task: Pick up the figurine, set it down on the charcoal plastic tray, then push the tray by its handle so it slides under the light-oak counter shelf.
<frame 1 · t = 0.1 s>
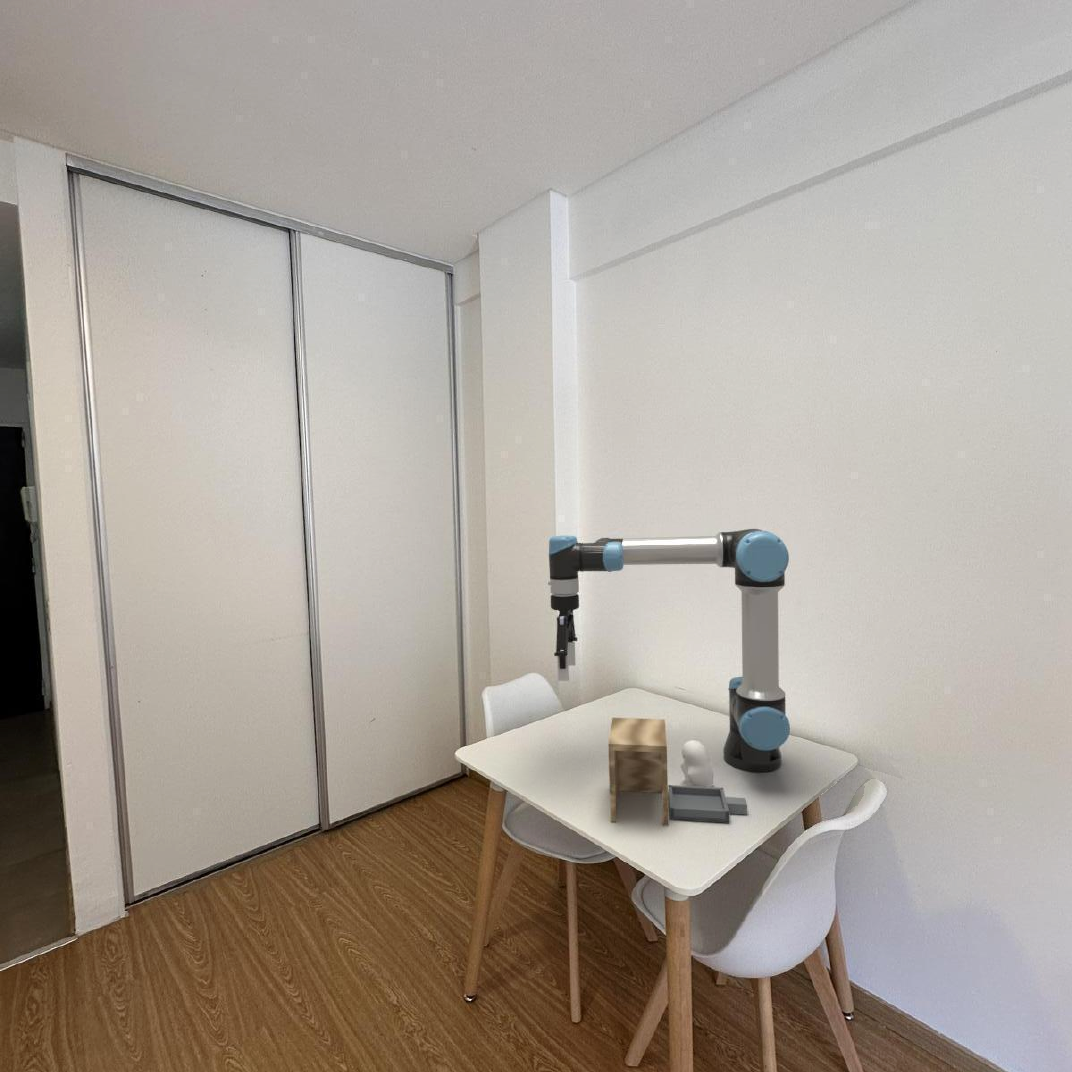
hand: (567, 672, 159), 28 cm above the table, fingers open, 13 cm apart
tray: (707, 803, 140), point 2 cm above the table, slide at 0.0 cm
figurine: (697, 787, 152), on the table
counter: (639, 805, 143), on the table
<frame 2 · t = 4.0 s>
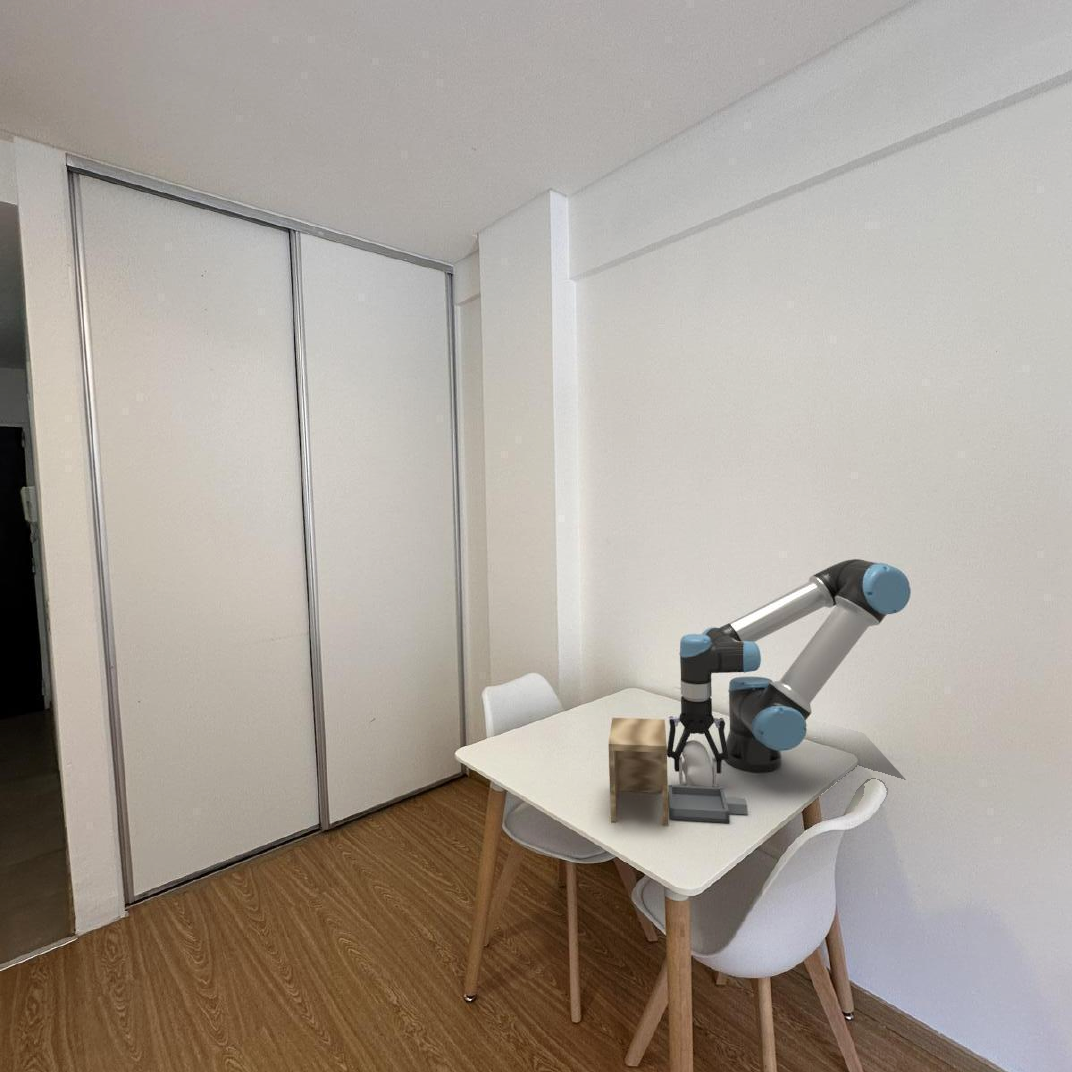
hand: (697, 784, 151), 1 cm above the table, fingers closed on figurine, 8 cm apart
figurine: (698, 787, 151), on the table, touching gripper
everything else where it was.
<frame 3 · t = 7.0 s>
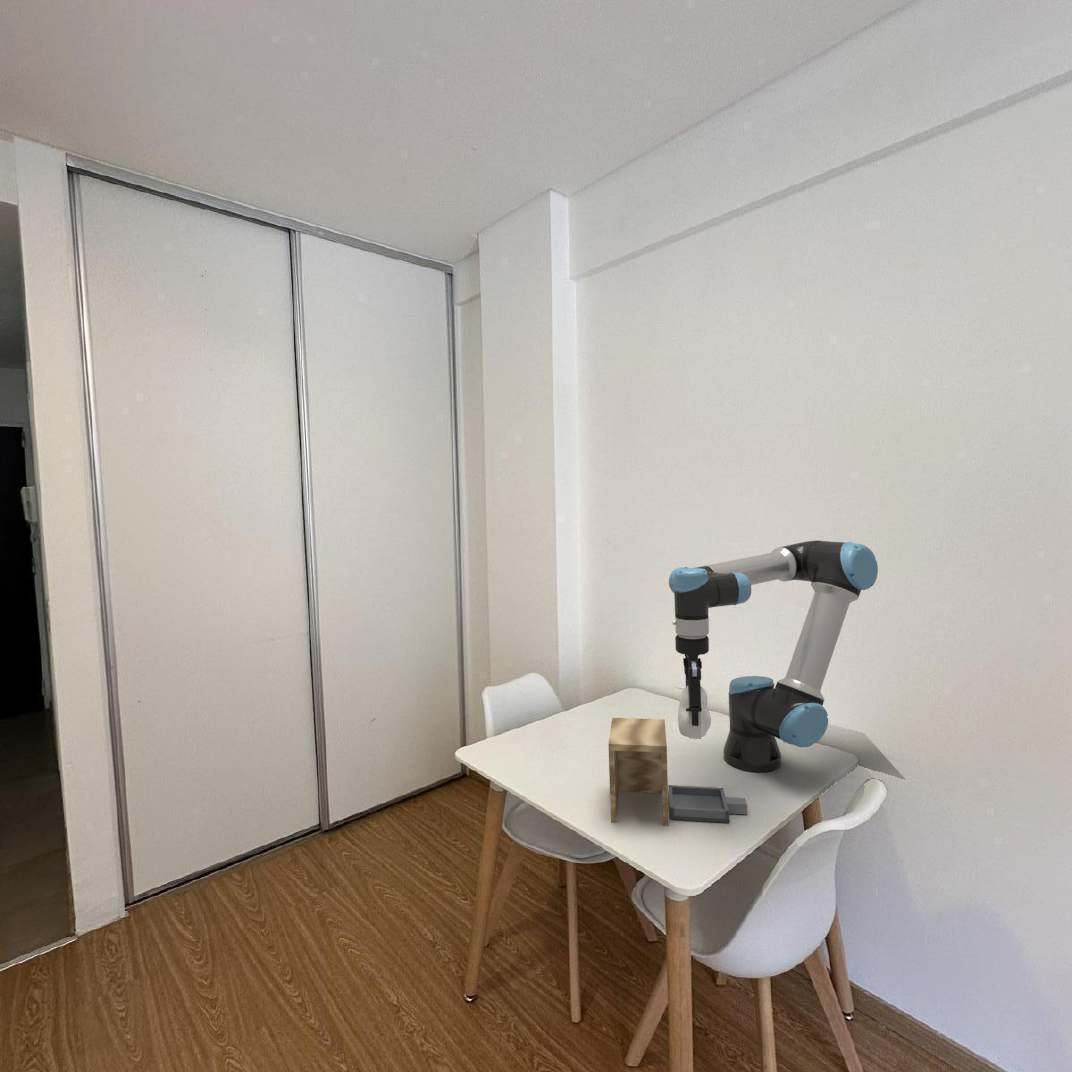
hand: (693, 730, 140), 19 cm above the table, fingers closed on figurine, 8 cm apart
figurine: (693, 734, 140), point 18 cm above the table, touching gripper
everything else where it was.
when the fingers open (4 cm above the table, at t = 10.2 s): figurine drops 2 cm, resting on tray.
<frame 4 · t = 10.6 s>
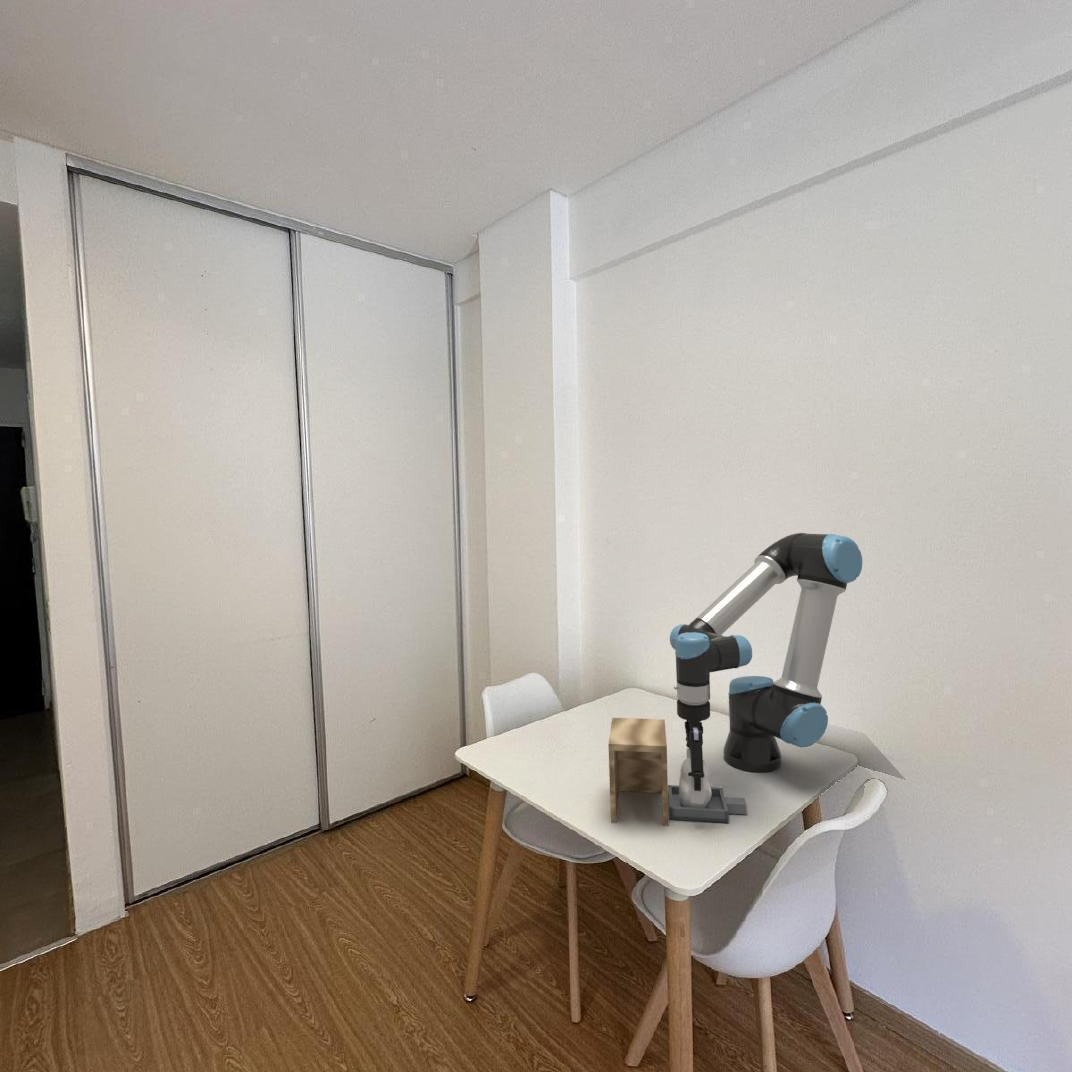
hand: (695, 788, 141), 5 cm above the table, fingers open, 13 cm apart
tray: (706, 803, 140), point 2 cm above the table, slide at 0.1 cm, touching figurine
figurine: (694, 805, 141), point 1 cm above the table, touching tray
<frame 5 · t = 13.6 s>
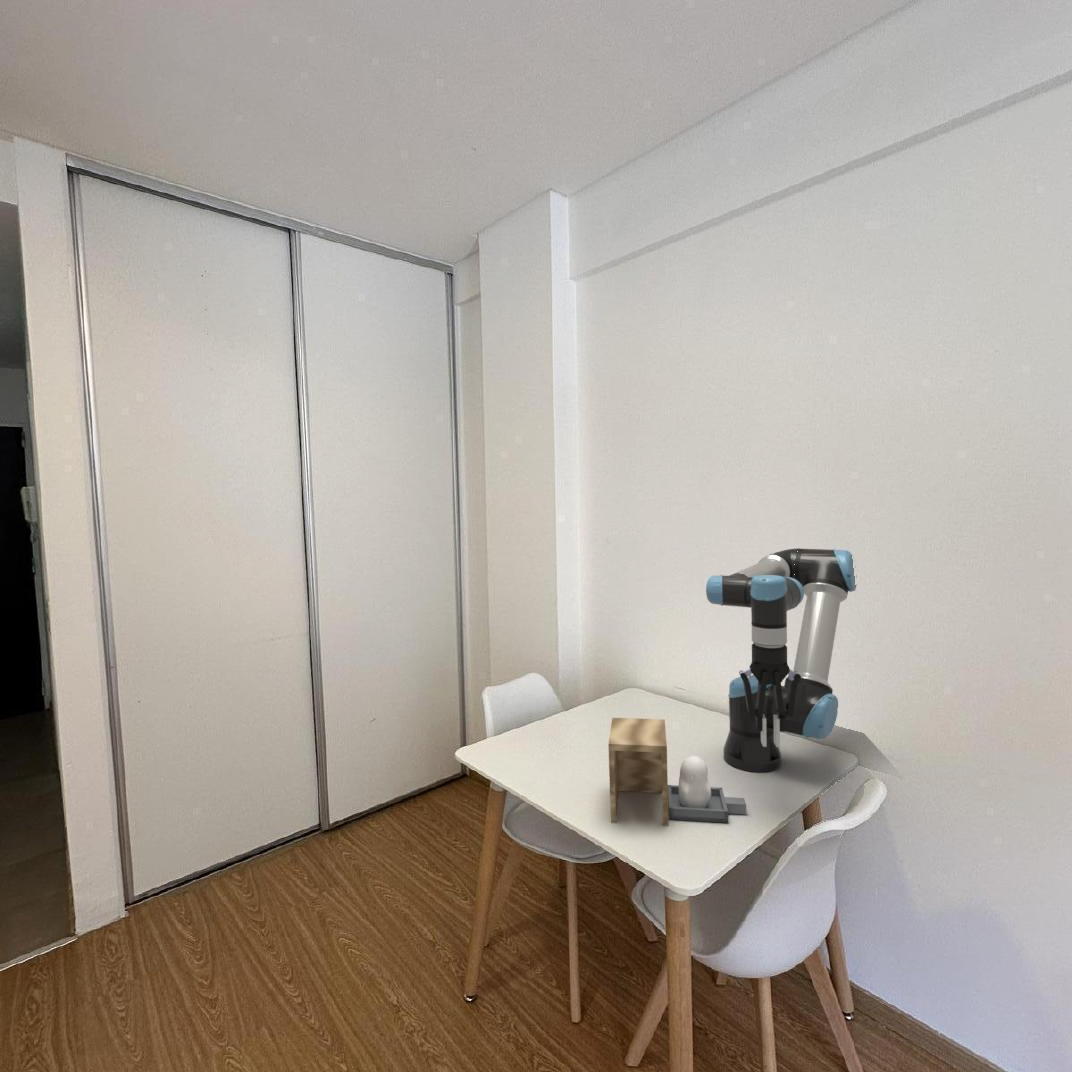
hand: (770, 744, 137), 16 cm above the table, fingers open, 2 cm apart
nothing on the table moved.
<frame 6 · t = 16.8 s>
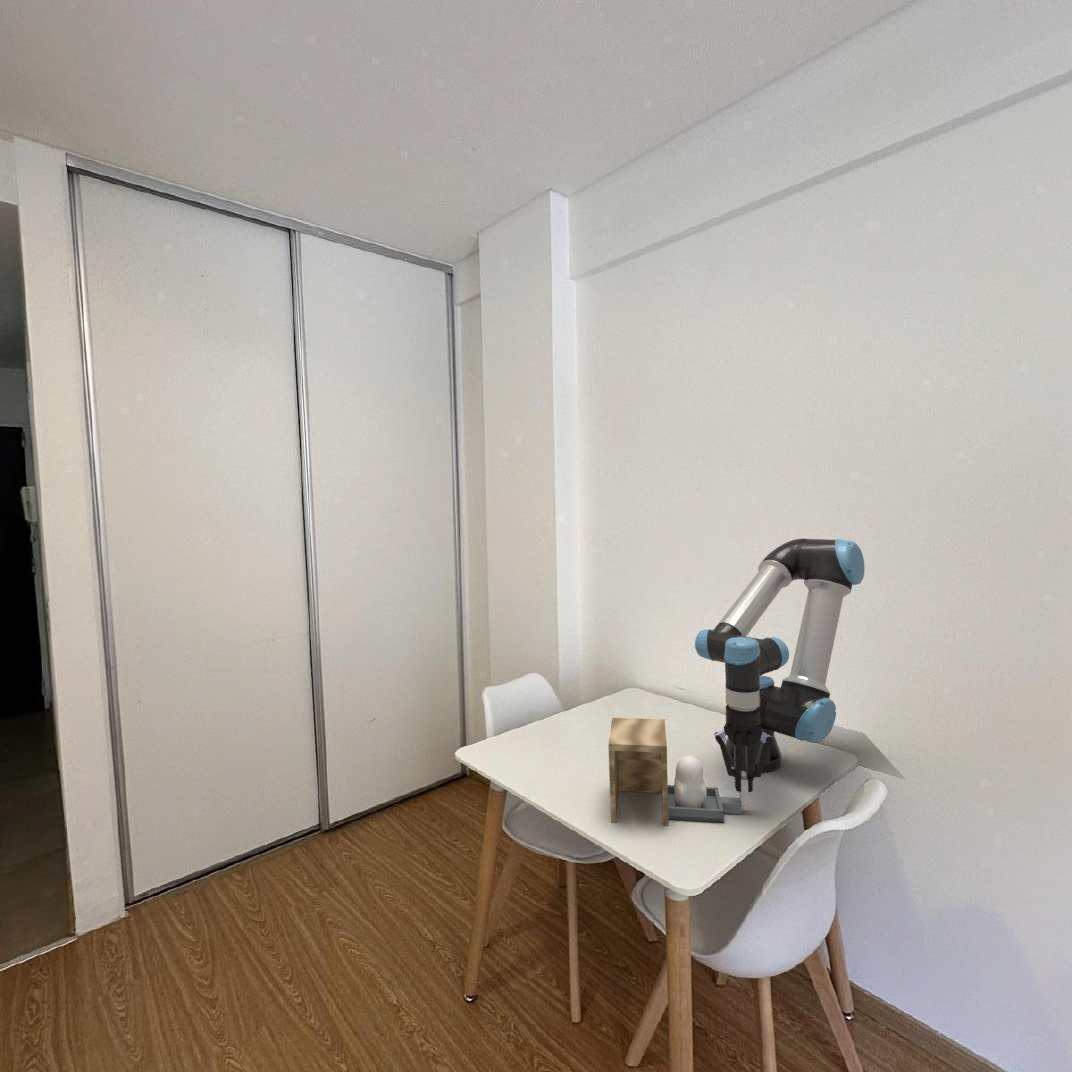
hand: (743, 804, 139), 2 cm above the table, fingers closed
tray: (701, 803, 141), point 2 cm above the table, slide at 1.2 cm, touching figurine, gripper
figurine: (689, 805, 141), point 1 cm above the table, touching tray
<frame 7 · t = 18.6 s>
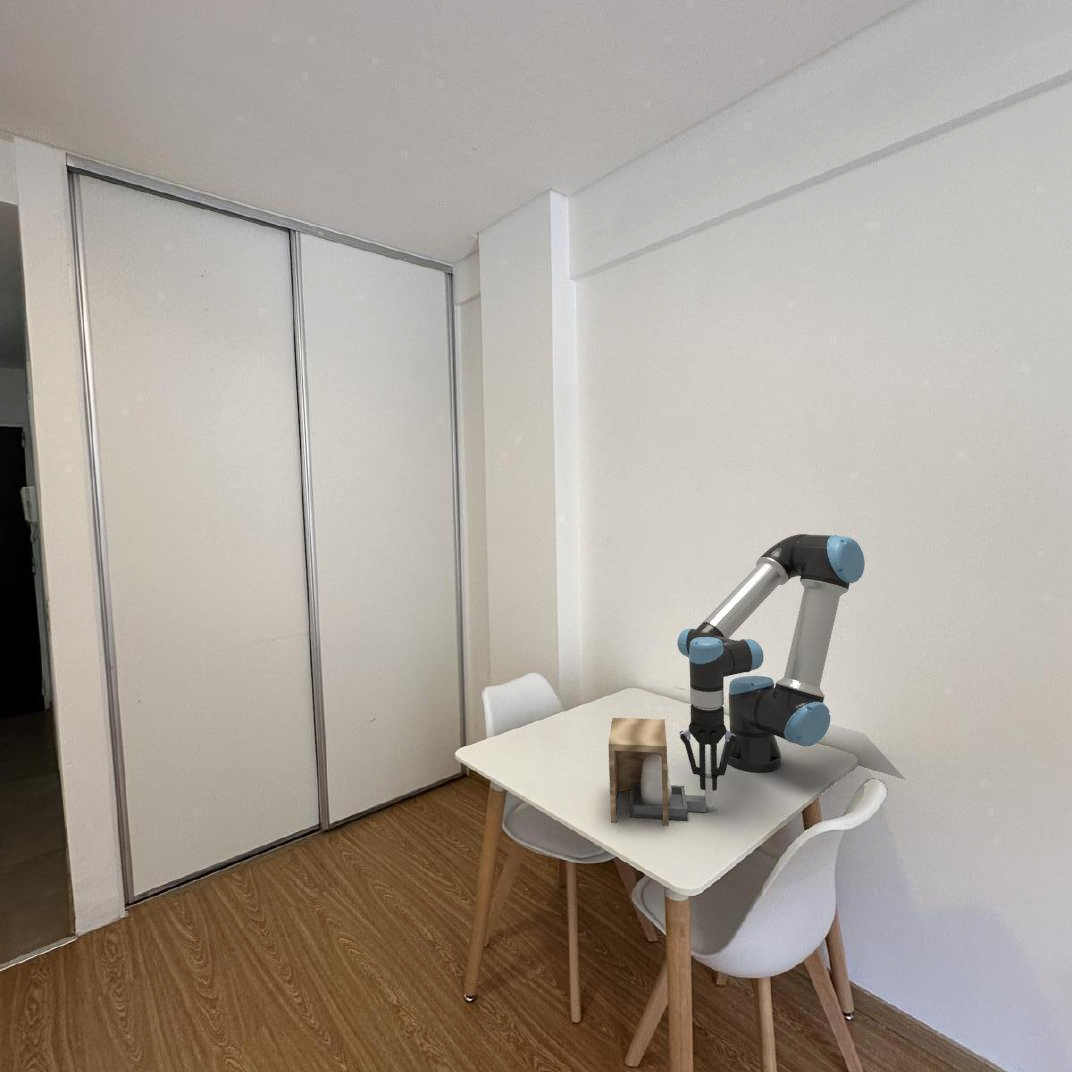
hand: (708, 802, 140), 2 cm above the table, fingers closed
tray: (667, 801, 142), point 2 cm above the table, slide at 9.2 cm, touching figurine, gripper
figurine: (655, 803, 143), point 1 cm above the table, touching tray
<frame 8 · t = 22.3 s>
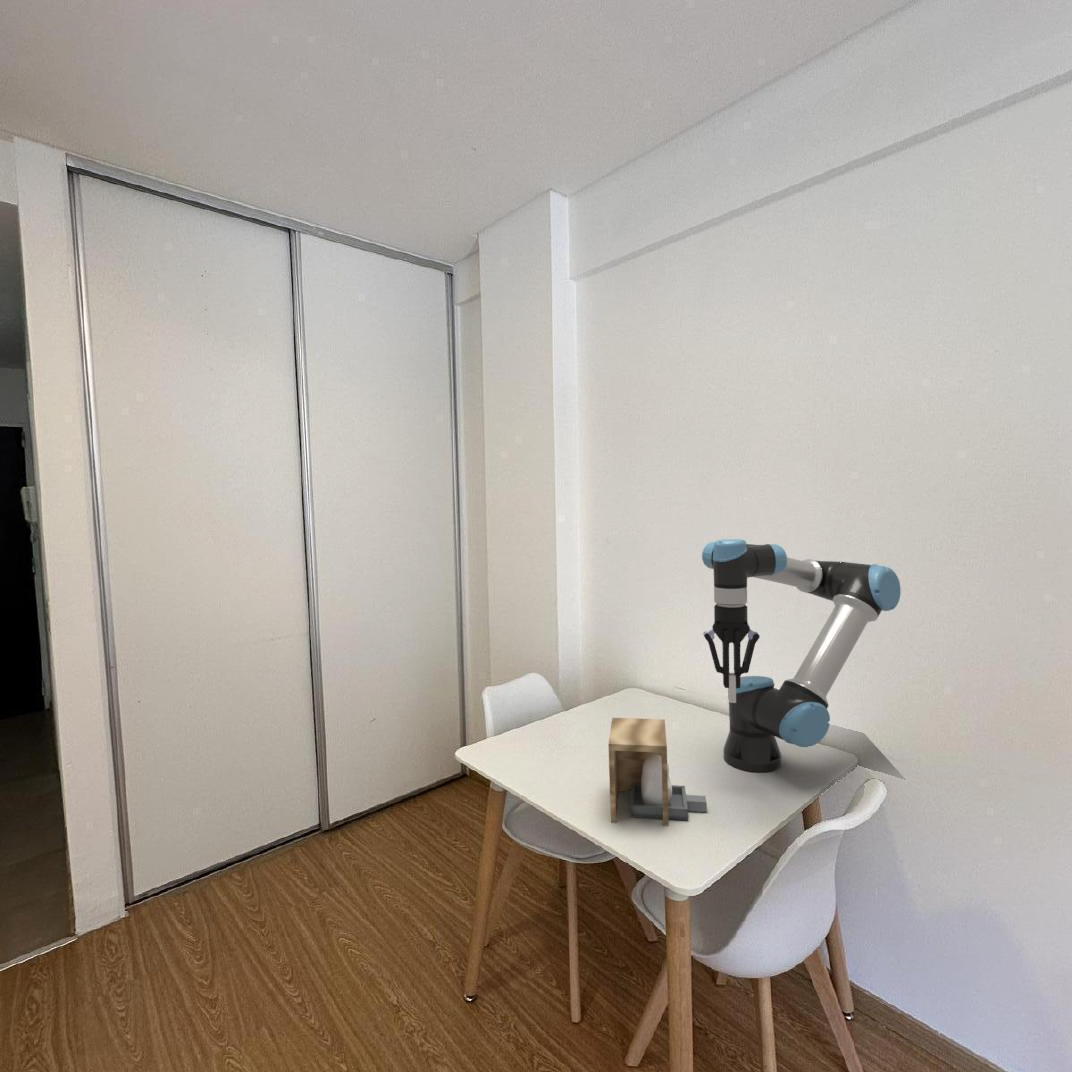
hand: (732, 700, 143), 24 cm above the table, fingers closed
tray: (668, 801, 142), point 2 cm above the table, slide at 9.1 cm, touching figurine
everything else where it was.
at the end: tray slide at 9.1 cm; figurine inside the target area on the tray (0.6 cm from its centre), point 0.8 cm above the tray's base; figurine tilted 0° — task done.
